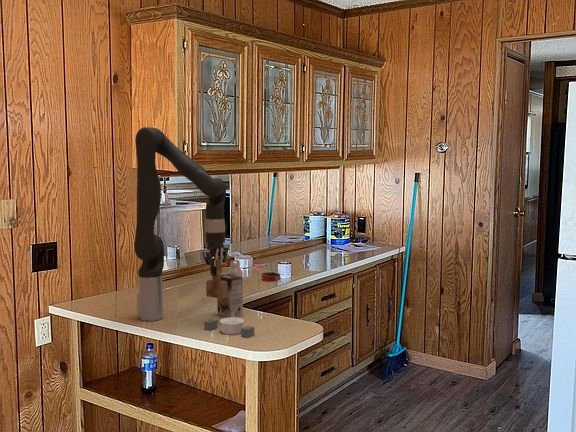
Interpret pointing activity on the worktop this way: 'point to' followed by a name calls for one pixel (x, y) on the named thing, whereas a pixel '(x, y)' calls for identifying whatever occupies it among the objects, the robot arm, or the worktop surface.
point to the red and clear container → (270, 276)
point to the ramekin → (231, 325)
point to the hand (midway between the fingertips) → (216, 274)
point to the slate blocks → (245, 331)
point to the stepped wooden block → (216, 284)
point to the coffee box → (231, 297)
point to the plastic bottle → (235, 270)
